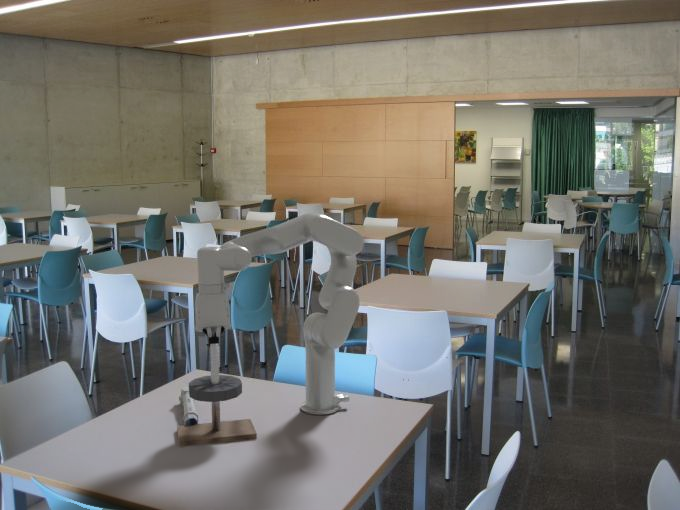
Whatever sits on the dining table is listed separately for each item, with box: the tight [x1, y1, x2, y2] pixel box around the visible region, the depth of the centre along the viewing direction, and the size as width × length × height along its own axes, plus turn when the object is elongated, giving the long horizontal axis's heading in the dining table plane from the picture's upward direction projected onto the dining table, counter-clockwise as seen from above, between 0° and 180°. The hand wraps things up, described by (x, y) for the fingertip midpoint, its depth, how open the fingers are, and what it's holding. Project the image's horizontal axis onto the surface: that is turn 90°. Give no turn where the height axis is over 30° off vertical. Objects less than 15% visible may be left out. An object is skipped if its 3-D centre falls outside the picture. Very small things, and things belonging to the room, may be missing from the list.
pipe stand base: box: [176, 418, 258, 448], centre depth 208 cm, size 22×12×2 cm, turn 106°
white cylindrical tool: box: [178, 385, 199, 425], centre depth 224 cm, size 5×7×25 cm
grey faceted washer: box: [188, 374, 243, 403], centre depth 206 cm, size 15×15×3 cm
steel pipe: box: [209, 343, 221, 431], centre depth 206 cm, size 3×3×26 cm
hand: (214, 349), depth 211 cm, fingers closed
